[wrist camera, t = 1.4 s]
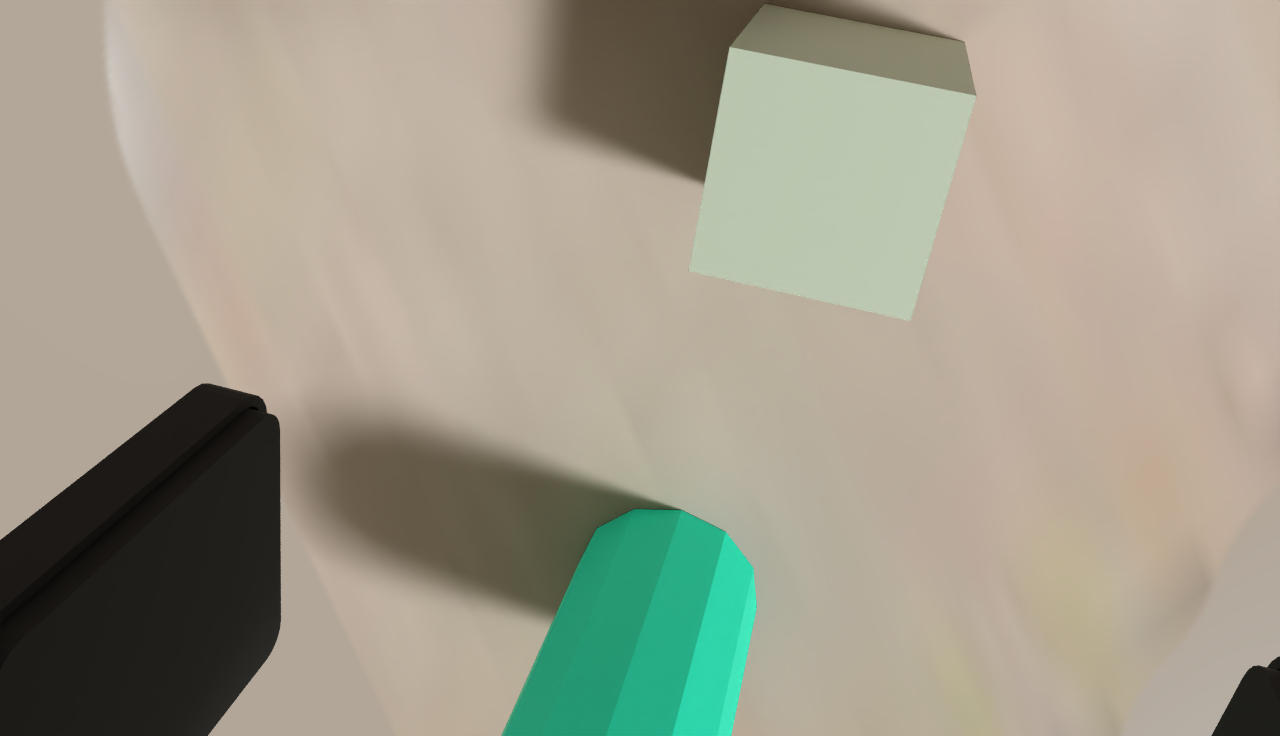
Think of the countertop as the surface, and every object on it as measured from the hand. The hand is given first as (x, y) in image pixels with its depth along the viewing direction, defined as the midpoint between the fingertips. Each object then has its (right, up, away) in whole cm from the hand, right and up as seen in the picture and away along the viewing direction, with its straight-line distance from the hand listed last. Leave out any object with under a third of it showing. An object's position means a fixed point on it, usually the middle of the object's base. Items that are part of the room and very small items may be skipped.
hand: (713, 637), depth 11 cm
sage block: (+4, +9, +18) cm, 21 cm away
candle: (0, -4, +26) cm, 26 cm away
